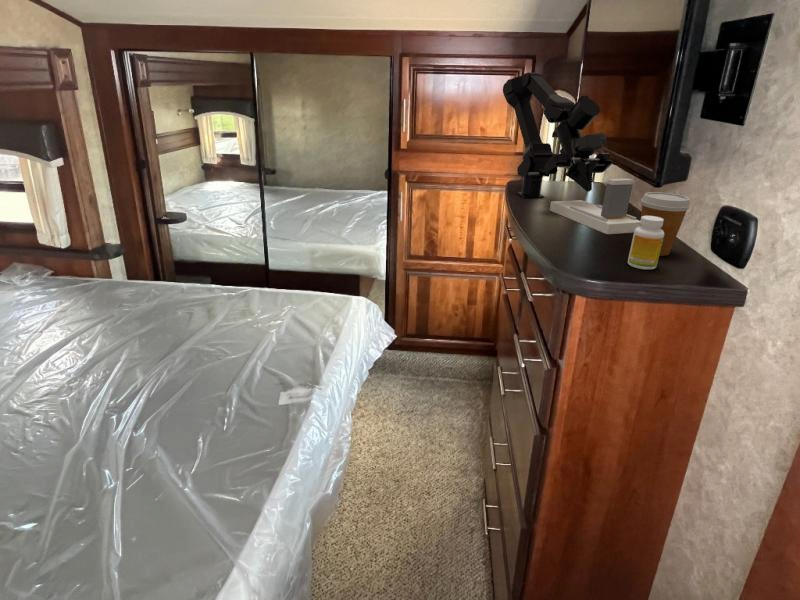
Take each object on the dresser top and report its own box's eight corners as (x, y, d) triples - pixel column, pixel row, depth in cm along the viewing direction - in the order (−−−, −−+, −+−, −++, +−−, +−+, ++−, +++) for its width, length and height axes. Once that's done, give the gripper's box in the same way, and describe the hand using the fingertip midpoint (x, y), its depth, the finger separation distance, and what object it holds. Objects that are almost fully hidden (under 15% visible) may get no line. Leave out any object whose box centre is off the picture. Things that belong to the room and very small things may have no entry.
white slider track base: (549, 210, 145) (551, 199, 144) (579, 208, 148) (581, 198, 147) (607, 234, 124) (609, 221, 123) (640, 231, 127) (643, 219, 126)
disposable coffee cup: (621, 248, 114) (633, 194, 109) (645, 242, 119) (657, 190, 114) (663, 261, 107) (677, 203, 102) (686, 253, 112) (701, 198, 107)
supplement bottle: (659, 271, 101) (671, 222, 97) (630, 268, 102) (640, 220, 98) (652, 262, 106) (664, 215, 102) (624, 260, 107) (635, 213, 103)
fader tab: (600, 215, 128) (607, 179, 125) (620, 214, 130) (627, 178, 127) (606, 217, 127) (613, 180, 123) (625, 216, 129) (633, 179, 125)
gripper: (558, 121, 131) (577, 173, 126) (618, 121, 136) (638, 172, 131) (536, 148, 141) (553, 198, 136) (593, 147, 146) (611, 195, 141)
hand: (589, 190), depth 136 cm, fingers closed
